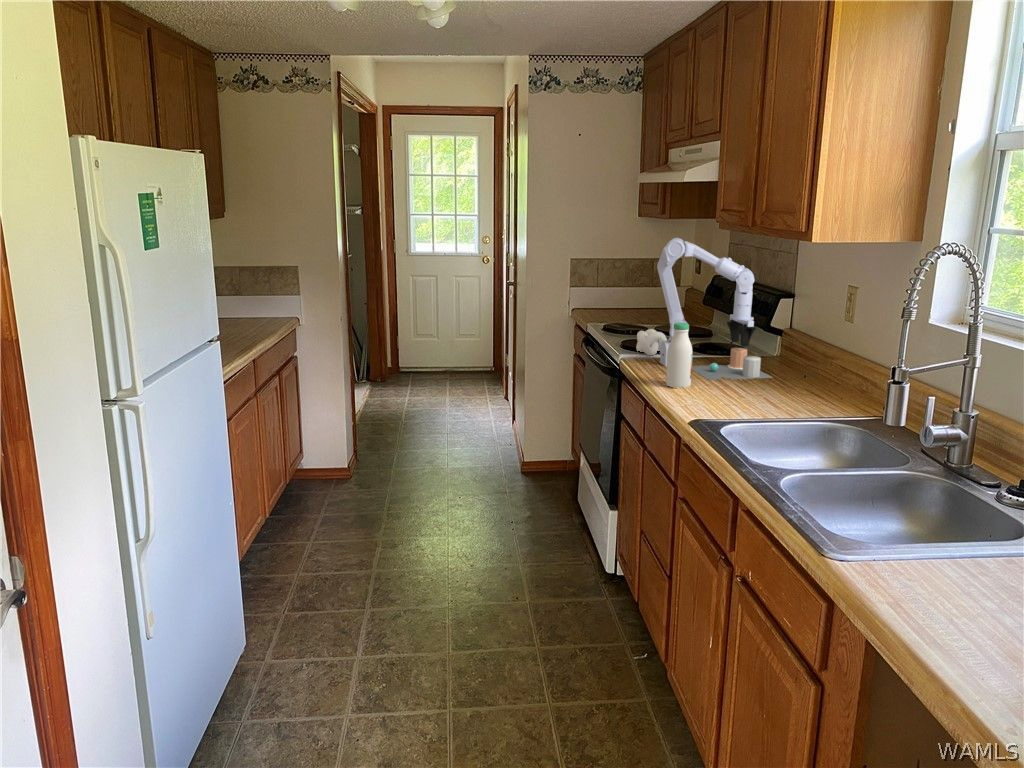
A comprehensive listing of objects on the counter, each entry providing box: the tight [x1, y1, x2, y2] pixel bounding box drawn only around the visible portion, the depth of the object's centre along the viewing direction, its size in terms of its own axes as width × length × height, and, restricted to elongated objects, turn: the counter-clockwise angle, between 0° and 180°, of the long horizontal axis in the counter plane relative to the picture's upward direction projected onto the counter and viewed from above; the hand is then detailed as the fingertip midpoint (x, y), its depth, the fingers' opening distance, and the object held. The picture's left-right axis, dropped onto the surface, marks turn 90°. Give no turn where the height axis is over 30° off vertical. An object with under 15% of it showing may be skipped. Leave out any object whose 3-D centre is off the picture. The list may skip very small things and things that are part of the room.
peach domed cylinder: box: [729, 347, 748, 368], centre depth 258 cm, size 5×5×6 cm
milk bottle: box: [665, 322, 693, 389], centre depth 233 cm, size 8×8×20 cm
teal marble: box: [709, 362, 719, 372], centre depth 252 cm, size 3×3×3 cm
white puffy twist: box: [635, 328, 668, 357], centre depth 281 cm, size 11×12×9 cm
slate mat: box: [692, 364, 774, 381], centre depth 252 cm, size 22×20×1 cm
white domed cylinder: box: [742, 355, 762, 377], centre depth 246 cm, size 5×5×6 cm
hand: (739, 344), depth 256 cm, fingers open, 7 cm apart
